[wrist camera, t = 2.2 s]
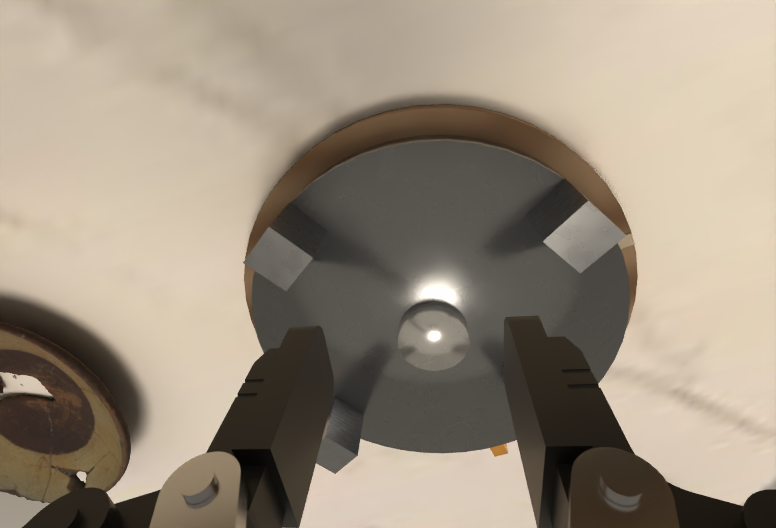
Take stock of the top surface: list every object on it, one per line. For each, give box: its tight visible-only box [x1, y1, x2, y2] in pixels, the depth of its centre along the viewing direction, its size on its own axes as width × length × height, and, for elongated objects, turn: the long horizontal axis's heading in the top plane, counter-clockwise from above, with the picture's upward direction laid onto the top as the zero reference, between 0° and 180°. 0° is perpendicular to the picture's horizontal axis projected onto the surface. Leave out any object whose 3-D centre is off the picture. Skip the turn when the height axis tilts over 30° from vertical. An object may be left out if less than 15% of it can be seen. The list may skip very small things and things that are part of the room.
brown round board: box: [244, 104, 637, 330], centre depth 34 cm, size 30×30×2 cm
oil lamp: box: [0, 321, 131, 503], centre depth 39 cm, size 22×30×8 cm
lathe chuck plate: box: [243, 135, 630, 474], centre depth 30 cm, size 28×27×6 cm
